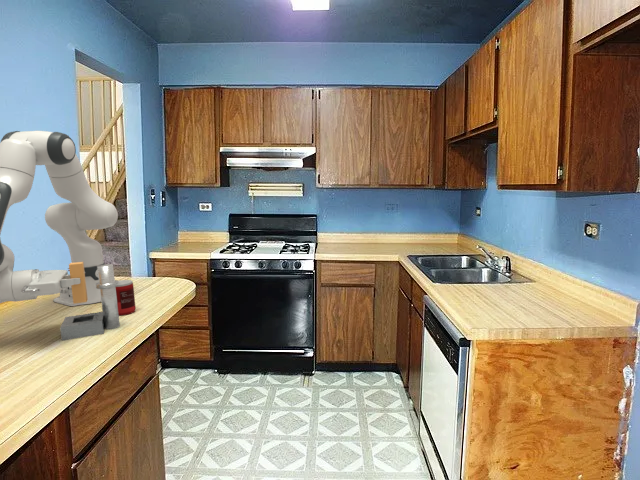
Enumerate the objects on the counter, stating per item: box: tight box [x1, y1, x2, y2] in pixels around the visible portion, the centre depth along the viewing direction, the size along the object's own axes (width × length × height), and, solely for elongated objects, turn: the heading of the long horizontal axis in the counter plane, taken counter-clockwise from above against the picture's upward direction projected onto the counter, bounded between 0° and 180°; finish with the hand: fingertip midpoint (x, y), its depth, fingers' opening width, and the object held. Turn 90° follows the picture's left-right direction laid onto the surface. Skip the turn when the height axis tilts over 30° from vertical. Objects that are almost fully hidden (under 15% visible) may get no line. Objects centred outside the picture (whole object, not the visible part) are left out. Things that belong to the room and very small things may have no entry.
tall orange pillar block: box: [68, 262, 88, 304], centre depth 129 cm, size 4×4×12 cm
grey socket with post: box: [59, 263, 121, 341], centre depth 131 cm, size 16×11×20 cm
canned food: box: [116, 279, 137, 317], centre depth 149 cm, size 8×8×11 cm
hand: (81, 278), depth 129 cm, fingers closed on tall orange pillar block, 3 cm apart
